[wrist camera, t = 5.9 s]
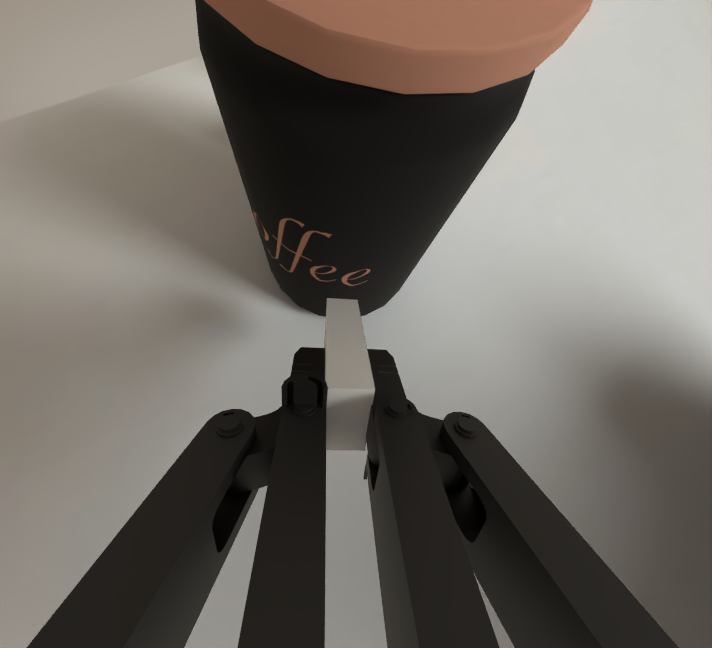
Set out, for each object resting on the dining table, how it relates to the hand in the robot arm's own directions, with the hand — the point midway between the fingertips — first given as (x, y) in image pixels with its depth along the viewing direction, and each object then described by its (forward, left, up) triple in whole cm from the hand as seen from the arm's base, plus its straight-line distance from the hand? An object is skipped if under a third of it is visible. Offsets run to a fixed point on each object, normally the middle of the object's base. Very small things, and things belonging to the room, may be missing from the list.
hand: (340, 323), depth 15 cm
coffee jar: (+7, 0, -7) cm, 10 cm away
